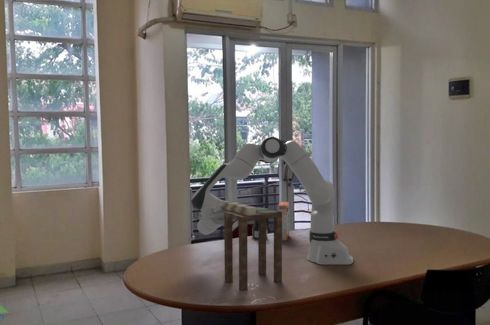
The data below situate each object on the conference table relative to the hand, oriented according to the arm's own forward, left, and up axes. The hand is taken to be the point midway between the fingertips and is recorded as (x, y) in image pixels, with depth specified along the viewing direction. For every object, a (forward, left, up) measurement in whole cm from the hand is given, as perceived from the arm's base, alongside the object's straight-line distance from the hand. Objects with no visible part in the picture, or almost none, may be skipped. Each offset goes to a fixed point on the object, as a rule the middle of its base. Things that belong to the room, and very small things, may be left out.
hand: (230, 205), depth 199 cm
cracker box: (-14, -74, -32) cm, 82 cm away
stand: (-11, +5, -32) cm, 34 cm away
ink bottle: (0, -72, -32) cm, 79 cm away
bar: (-4, +4, -2) cm, 6 cm away
